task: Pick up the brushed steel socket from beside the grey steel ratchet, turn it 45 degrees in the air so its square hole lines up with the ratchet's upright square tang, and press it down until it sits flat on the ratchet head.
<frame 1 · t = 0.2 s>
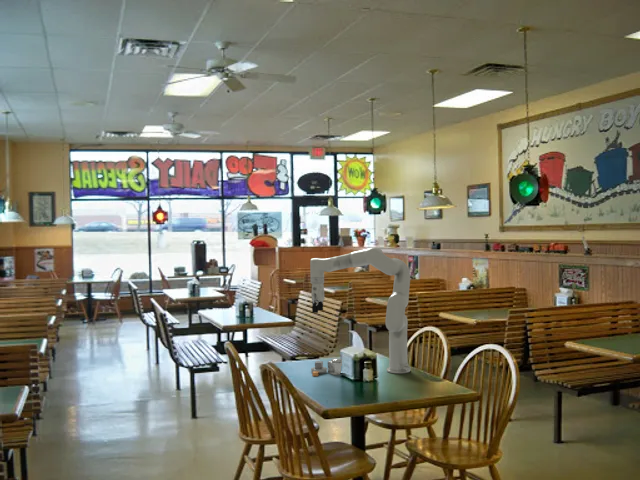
hand: (317, 311, 345), 30 cm above the table, fingers open, 9 cm apart
socket: (336, 373, 330), on the table
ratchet: (319, 372, 333), on the table
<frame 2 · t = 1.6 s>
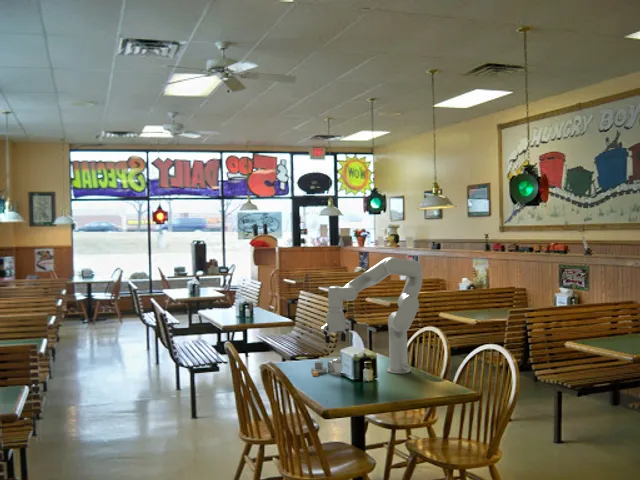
hand: (335, 342, 329), 16 cm above the table, fingers open, 9 cm apart
nothing on the table moved.
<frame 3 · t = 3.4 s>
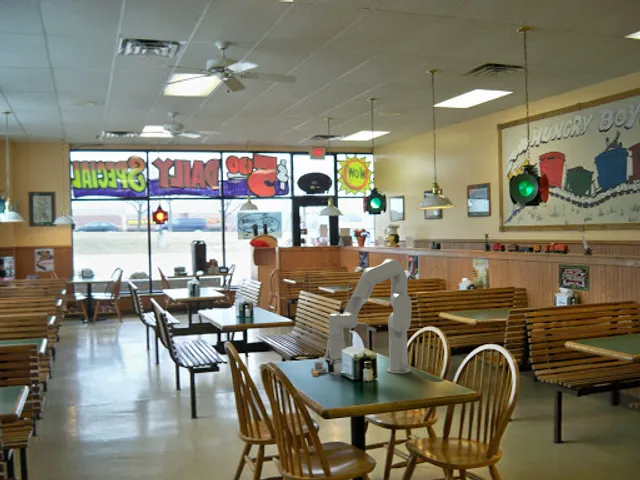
hand: (336, 370, 330), 1 cm above the table, fingers closed on socket, 6 cm apart
socket: (336, 373, 330), on the table, touching gripper
everything else where it was.
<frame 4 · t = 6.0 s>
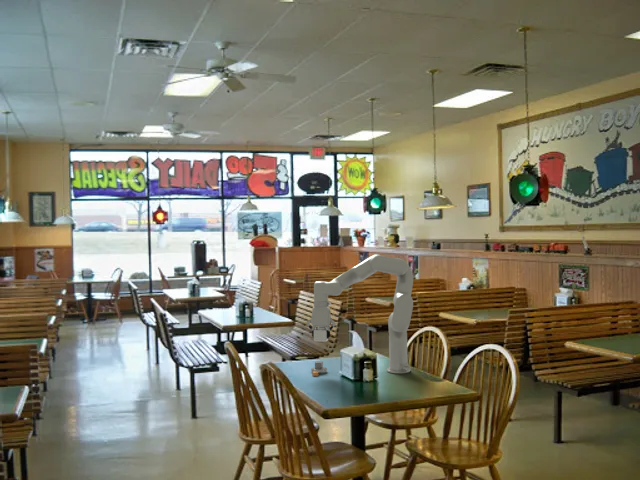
hand: (321, 337, 332), 18 cm above the table, fingers closed on socket, 6 cm apart
socket: (321, 340, 332), point 17 cm above the table, touching gripper
everything else where it was.
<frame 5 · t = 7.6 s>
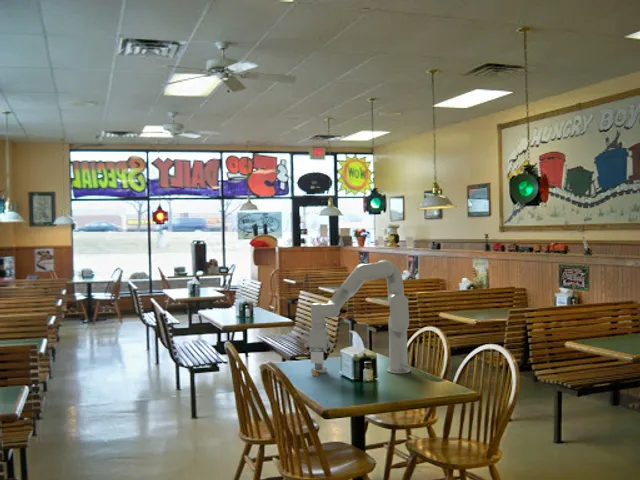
hand: (318, 359, 332), 7 cm above the table, fingers closed on socket, 6 cm apart
socket: (318, 361, 332), point 5 cm above the table, touching gripper
everything else where it was.
when the fingers open (4 cm above the table, at t = 8.7 s): socket stays where it is, resting on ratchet.
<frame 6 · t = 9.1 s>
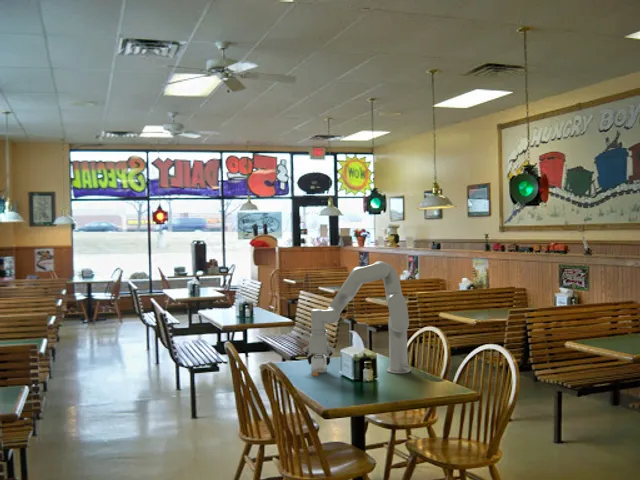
hand: (319, 364, 332), 4 cm above the table, fingers open, 9 cm apart
socket: (319, 368, 333), point 2 cm above the table, touching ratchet
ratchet: (319, 372, 333), on the table, touching socket
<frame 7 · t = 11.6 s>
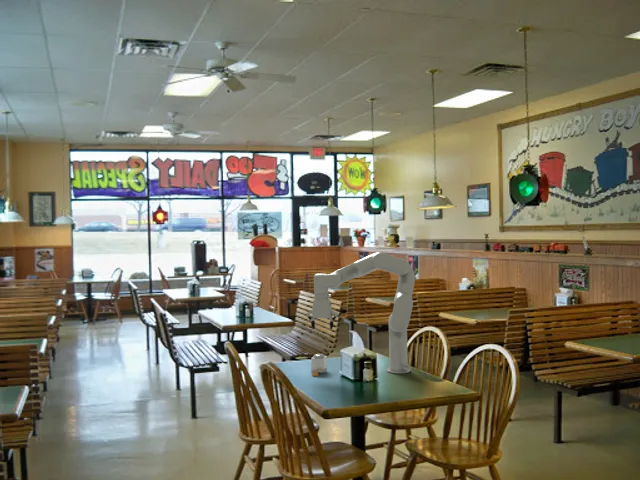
hand: (322, 328, 334), 23 cm above the table, fingers open, 9 cm apart
nothing on the table moved.
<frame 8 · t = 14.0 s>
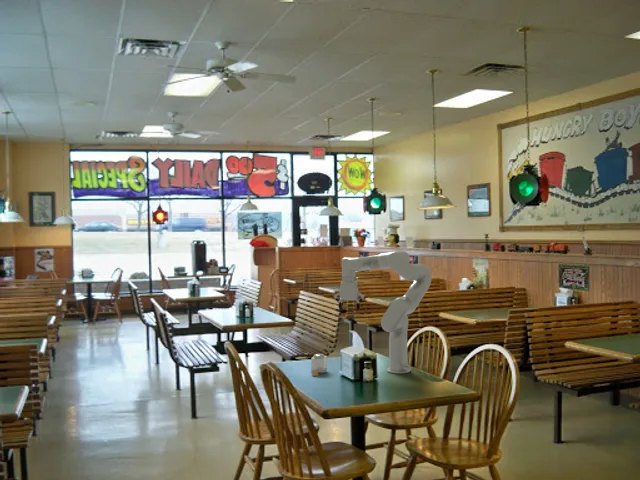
hand: (349, 310, 349), 30 cm above the table, fingers open, 9 cm apart
nothing on the table moved.
at the end: socket 0.1 cm off-centre on the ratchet, point 2.0 cm above the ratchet's base; socket tilted 0°; the gripper is holding nothing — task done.
